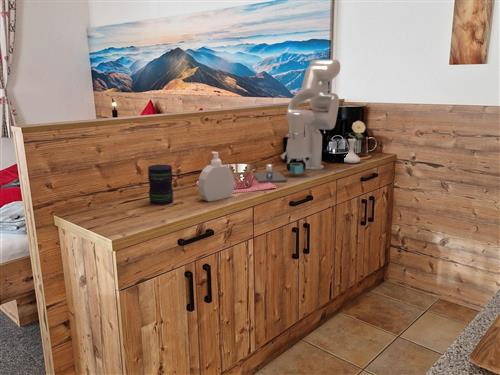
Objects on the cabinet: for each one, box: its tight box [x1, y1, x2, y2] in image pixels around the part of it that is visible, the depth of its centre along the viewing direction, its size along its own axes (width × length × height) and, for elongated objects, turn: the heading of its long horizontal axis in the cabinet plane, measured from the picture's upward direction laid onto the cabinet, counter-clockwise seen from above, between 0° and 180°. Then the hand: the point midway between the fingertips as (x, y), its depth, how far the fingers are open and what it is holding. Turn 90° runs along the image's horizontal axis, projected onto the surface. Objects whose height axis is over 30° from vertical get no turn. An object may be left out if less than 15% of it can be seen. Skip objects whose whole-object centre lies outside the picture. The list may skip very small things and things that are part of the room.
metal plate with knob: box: [254, 163, 288, 184], centre depth 236 cm, size 20×14×7 cm
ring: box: [288, 162, 304, 175], centre depth 241 cm, size 7×7×4 cm
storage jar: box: [147, 164, 174, 206], centre depth 191 cm, size 10×10×15 cm
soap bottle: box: [197, 151, 235, 202], centre depth 197 cm, size 16×5×20 cm, turn 130°
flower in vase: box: [344, 120, 367, 164], centre depth 275 cm, size 13×11×25 cm
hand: (296, 169), depth 241 cm, fingers closed on ring, 7 cm apart
